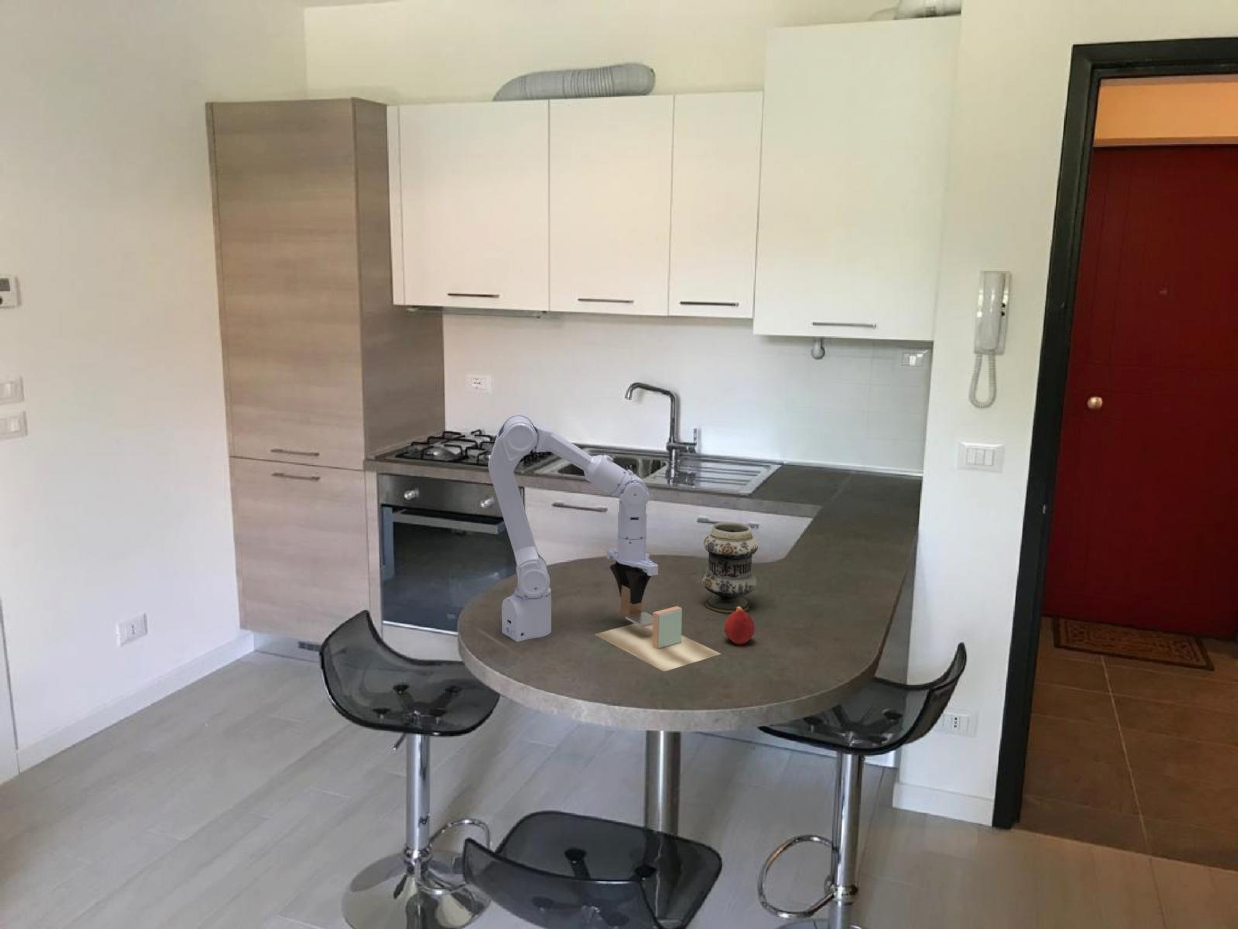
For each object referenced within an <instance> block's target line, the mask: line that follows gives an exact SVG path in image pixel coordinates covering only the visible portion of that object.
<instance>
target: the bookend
mask: <svg viewBox="0 0 1238 929" xmlns="http://www.w3.org/2000/svg"><path fill="white" fill-rule="evenodd" d="M642 602H643V601H642ZM642 602H641V603H638V604H632V603H631V597H630V585H629V584H624V585H622V591H621V597H620V611H619V612H620V614H622V615H623V616H625V620H627V621H629V622H630V623H631V622H632V624H637V625H639V626H640V627H646V626H650V625H653V614H650V613H648V612H646V611H643V612H642V605H643V604H642Z"/></svg>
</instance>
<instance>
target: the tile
mask: <svg viewBox="0 0 1238 929" xmlns="http://www.w3.org/2000/svg"><path fill="white" fill-rule="evenodd" d="M652 616H653V645H652V647H654V648H656V649H660V648H663V647H667V646H670V645H674V644H677V643H681V635H682V632H683V631H682V630H683V628H682V626H683V625H682V624H683V622H682V621H683V620H682V619H683V608H682V607H680V606H678V605H677V606H673V607H668V608H665V609H661V610H658V611H653V612H652Z"/></svg>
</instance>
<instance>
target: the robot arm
mask: <svg viewBox="0 0 1238 929" xmlns="http://www.w3.org/2000/svg"><path fill="white" fill-rule="evenodd" d="M497 430H498V431H497V433H496V434H497V435H496V438H495V441H494V444H493V447H492V449H491V453H490V457H489V458H488V463H487V466H488V472H489V476H490V478H491V482H492V485H493V489H494V492H495V496H496V498H497V501H498V505H499V508H500V511H501V516H502V518H503V521H504V525H505V528H506V531H507V535H508V538H509V541H510V544H511V548H512V550H513V553H514V554H513V556H514V559H515V562H516V567H515V571H516V577H517V586H516V587H515V588H514V593H513V594H512V595H510V596H508V597H505V598H504V599H503V600H502V603H501V633H502V634H504V635H505V636H506V637H508V638H510V639H511V640H514V641H515V642H517V643H518V642H522V641H525V640H527V641H528V640H530V639H536V638H537V639H538V638H543V637H546V636H548V635H550V634H551V632H552V589H551V587H550V585H551V579H550V575H549V573H548V565H547V562H546V560H545V559H544V558H543V557H542V556H541V554H540V553H539V551H538V548H537V547H538V546H537V544H536V542H535V539H534V535H533V532H532V529H531V526H530V522H529V519H528V515H527V513H526V512H527V511H526V509H525V506H524V501H523V499H522V496H521V493H520V489H519V485H518V482H517V478H516V476H515V472H514V470H515V469H516V467H517V465H518V464H519V462H521V459H522V458H524V457H525V456H526V455H528V454H529V453H530V452H531V451H532V450H533V449H534V450H535V452H536V453H544V452H545V453H546V452H549V453H550V452H551V453H553V454H555V455H556V456H558V457H559V458H561V459H563V460H565V461H566V462H568V463H569V464H571V465H573V466H575V467H577V468H579V469H581V470H583V473H584V478H585V480H586V481H588V482H590V483H591V484H592V485H594V486H595V487H597V488H599V489H600V490H601V491H604V492H606V493H607V494H609V495H610V496H612V497H617V498H618V499H619V501H618V513H617V547H613V548H607V549H606V559H608V560H614V561H615V563H613V564H610V566H609V569H610V570H611V572H612V574H613V576H614V579H615V581H616V584H617V587H618V588H617V589H618V592H619V597H620V598H621V591H622V585H624V584H629V585H630V597H631V603H632V604H638V603H641V602H643V598H644V594H645V591H646V588H647V585H648V583H649V581H650V579H651V578H652V577H653V576H656V575H657V576H658V575H659V564H657V563H655V562H653V561H652V559H650V557H651V556H650V554H649V553H647V525H648V524H647V520H648V519H647V516H648V514H647V505H648V503H649V501H650V499H651V493H650V492H649V488H648V486H647V484H646V483H645V482H644V481H643V480H642V478H641V477H639V476H638V474H636V473H634V472H633V471H632V470H631V469H627V470H626V469H625V468H623V467H622V466H620V465H618V464H617V463H615V462H614V458H613V457H611V456H609V455H606V456H604V455H603V454H598V455H593V456H591V455H590V454H589V453H587V452H585V451H584V450H583V449H581V448H579V447H578V446H577V445H575V444H573V443H572V442H570V441H569V440H567V439H566V438H565V437H564V436H562V435H560V434H559V433H557V432H556V431H554V430H552V429H551V428H549V427H548V426H545V425H544V424H542V423H540V422H537V421H533V422H532V420H531V419H530V418H529V417H527V416H526V415H523V414H514V415H511V416H510V417H508V418H507V419H506V420H505V421H504V423H503V424H502V425H501V426H500V427H499V429H497Z"/></svg>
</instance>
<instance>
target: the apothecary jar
mask: <svg viewBox="0 0 1238 929" xmlns="http://www.w3.org/2000/svg"><path fill="white" fill-rule="evenodd" d="M703 547H704V549H705V550H706V551H707V552H708V560H707V561H708V563H707V569H706V570H704V572H703V574H702V575H701V583H702V584H701V585H702V586H703V588H705V589H706V590H707V591H708V592H710V593H711V594H714V595H716V596H712V597H710V598H708V599H707V600H706V601H705V606H706V607H707V608H708V609H710V610H712V611H714V612H715V611H716V612H720V613H725V614H726V613H727V614H731V613H733V612H735V611H736V607H741V609H743V610H744V611H745V612H747V611H749V609H750V608H749V606H750V607H751V606H752V605H751V603H750V602H749V601H748V600H746V599H744V598H743V596H746V595H749V594H750V593H751V592H753V591H754V590H755V589H756V587H757V584H758V581H757V578H756V576H755V574H753V572H752V570H753V569H752V564H753V563H752V562H753V555H754V554H756V552H757V551H758V549H759V543H758V540H757V538H755V536H753V533H752V528H751V527H750V525H748V524H745V523H742V522H741V523H740V522H734V521H730V522H729V521H721V522H717V523H714V524H713V525H712V527H711V531H710V533H709V534H708V535H706V537H705V538H704V540H703Z"/></svg>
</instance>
